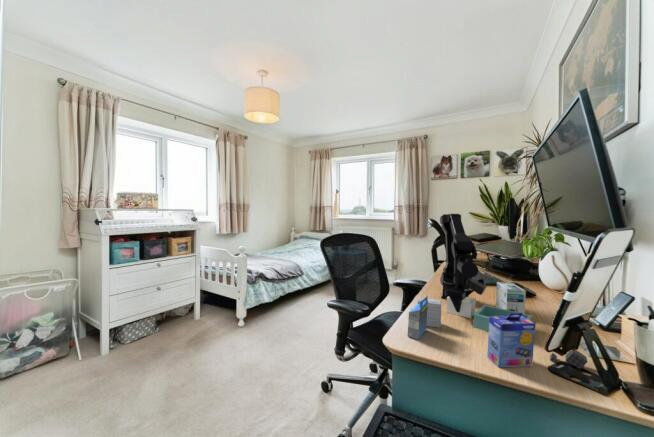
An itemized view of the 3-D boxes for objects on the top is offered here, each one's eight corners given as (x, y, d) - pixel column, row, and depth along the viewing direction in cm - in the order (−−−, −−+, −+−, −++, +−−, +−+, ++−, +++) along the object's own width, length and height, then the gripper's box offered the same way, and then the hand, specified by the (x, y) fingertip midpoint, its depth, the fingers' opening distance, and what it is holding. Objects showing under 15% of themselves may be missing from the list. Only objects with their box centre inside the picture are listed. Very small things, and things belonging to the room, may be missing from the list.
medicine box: (440, 323, 100) (440, 299, 100) (440, 328, 96) (441, 304, 95) (417, 320, 103) (417, 297, 102) (417, 325, 98) (417, 301, 98)
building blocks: (587, 361, 71) (552, 339, 75) (573, 376, 73) (540, 353, 77) (586, 356, 74) (552, 335, 78) (573, 370, 75) (540, 348, 80)
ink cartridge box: (499, 368, 72) (501, 315, 72) (485, 357, 78) (487, 307, 77) (534, 367, 73) (537, 314, 72) (518, 355, 79) (520, 306, 78)
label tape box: (415, 326, 97) (416, 292, 96) (427, 330, 95) (428, 295, 94) (407, 336, 90) (407, 299, 89) (419, 340, 87) (420, 302, 87)
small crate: (446, 312, 110) (446, 297, 110) (451, 307, 115) (452, 293, 115) (470, 318, 104) (471, 303, 104) (475, 313, 109) (475, 299, 108)
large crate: (473, 328, 97) (473, 314, 97) (483, 317, 106) (483, 304, 106) (525, 343, 87) (526, 327, 86) (531, 329, 96) (531, 315, 96)
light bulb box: (525, 318, 105) (526, 290, 105) (505, 316, 106) (507, 289, 106) (512, 307, 116) (513, 282, 115) (494, 306, 117) (495, 281, 116)
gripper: (477, 279, 96) (476, 323, 97) (490, 270, 110) (489, 308, 111) (445, 274, 104) (444, 314, 105) (461, 266, 118) (460, 301, 118)
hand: (460, 309), depth 110 cm, fingers closed on small crate, 6 cm apart
